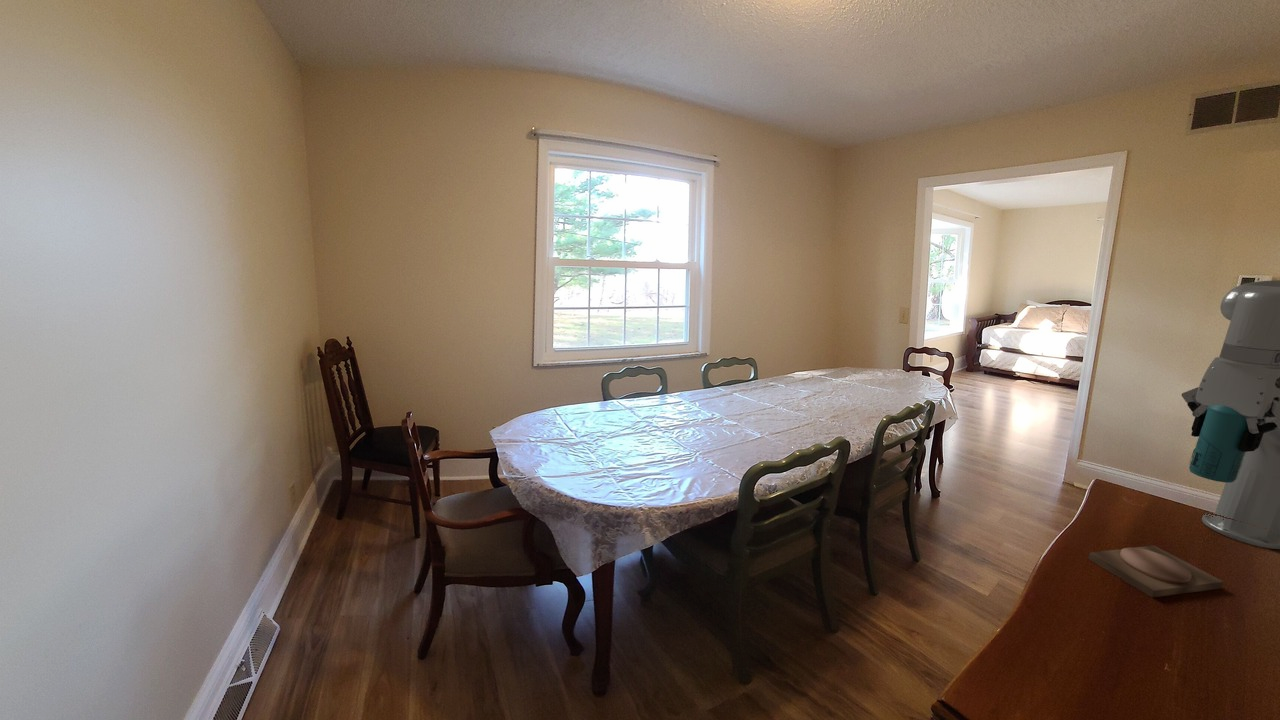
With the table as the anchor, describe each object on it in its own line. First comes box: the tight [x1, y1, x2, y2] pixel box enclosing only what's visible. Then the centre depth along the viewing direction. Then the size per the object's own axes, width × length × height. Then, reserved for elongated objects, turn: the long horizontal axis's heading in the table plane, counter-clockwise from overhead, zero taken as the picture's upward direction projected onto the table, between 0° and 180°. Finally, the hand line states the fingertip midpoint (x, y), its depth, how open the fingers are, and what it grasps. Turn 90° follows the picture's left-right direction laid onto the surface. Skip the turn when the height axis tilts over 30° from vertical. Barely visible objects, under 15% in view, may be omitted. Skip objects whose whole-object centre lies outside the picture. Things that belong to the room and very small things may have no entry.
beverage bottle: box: [1188, 405, 1249, 483], centre depth 95 cm, size 6×7×20 cm
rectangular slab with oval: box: [1087, 544, 1224, 598], centre depth 94 cm, size 16×11×2 cm
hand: (1221, 442), depth 96 cm, fingers closed on beverage bottle, 6 cm apart
